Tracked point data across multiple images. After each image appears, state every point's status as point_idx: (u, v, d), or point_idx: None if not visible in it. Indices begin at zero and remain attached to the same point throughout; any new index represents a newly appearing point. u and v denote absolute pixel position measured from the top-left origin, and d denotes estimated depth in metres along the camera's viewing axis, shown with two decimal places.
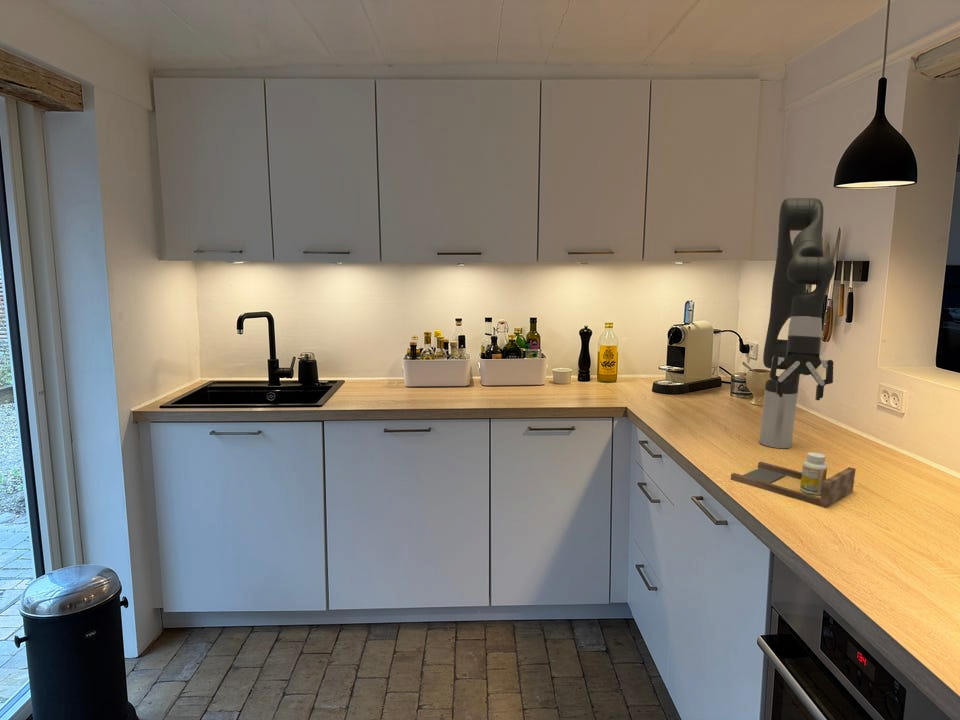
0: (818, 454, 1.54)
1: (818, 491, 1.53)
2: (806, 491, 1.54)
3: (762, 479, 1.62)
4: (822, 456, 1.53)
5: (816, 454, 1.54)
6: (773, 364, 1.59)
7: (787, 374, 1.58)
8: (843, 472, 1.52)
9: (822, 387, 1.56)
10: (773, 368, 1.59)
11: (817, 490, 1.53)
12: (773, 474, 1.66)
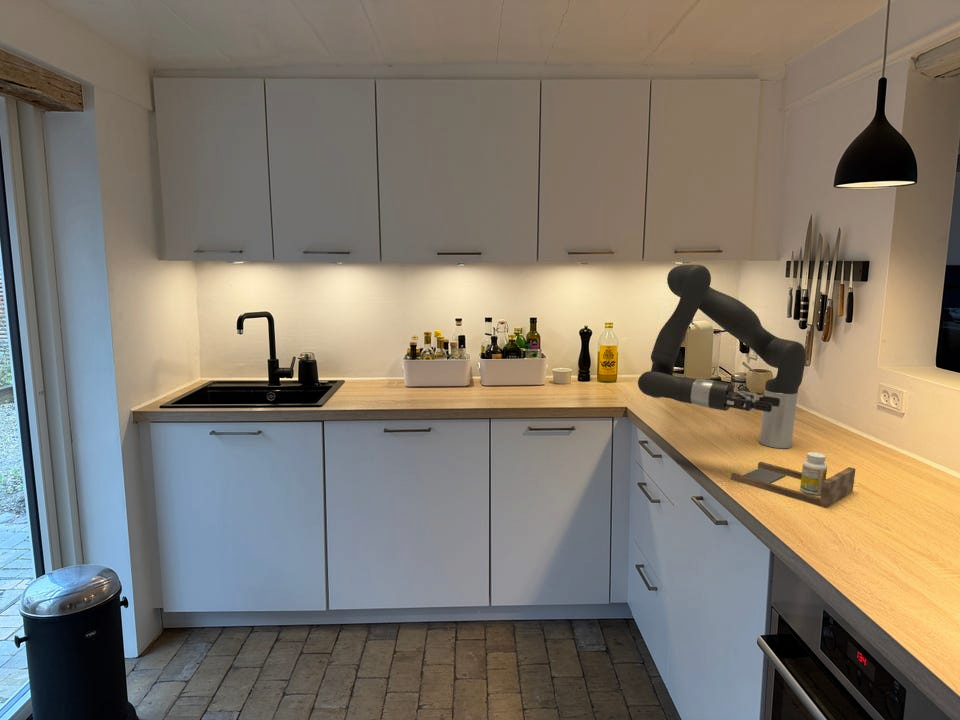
0: (818, 454, 1.54)
1: (818, 491, 1.53)
2: (806, 491, 1.54)
3: (762, 479, 1.62)
4: (822, 456, 1.53)
5: (816, 454, 1.54)
6: None
7: None
8: (843, 472, 1.52)
9: None
10: None
11: (817, 490, 1.53)
12: (773, 474, 1.66)
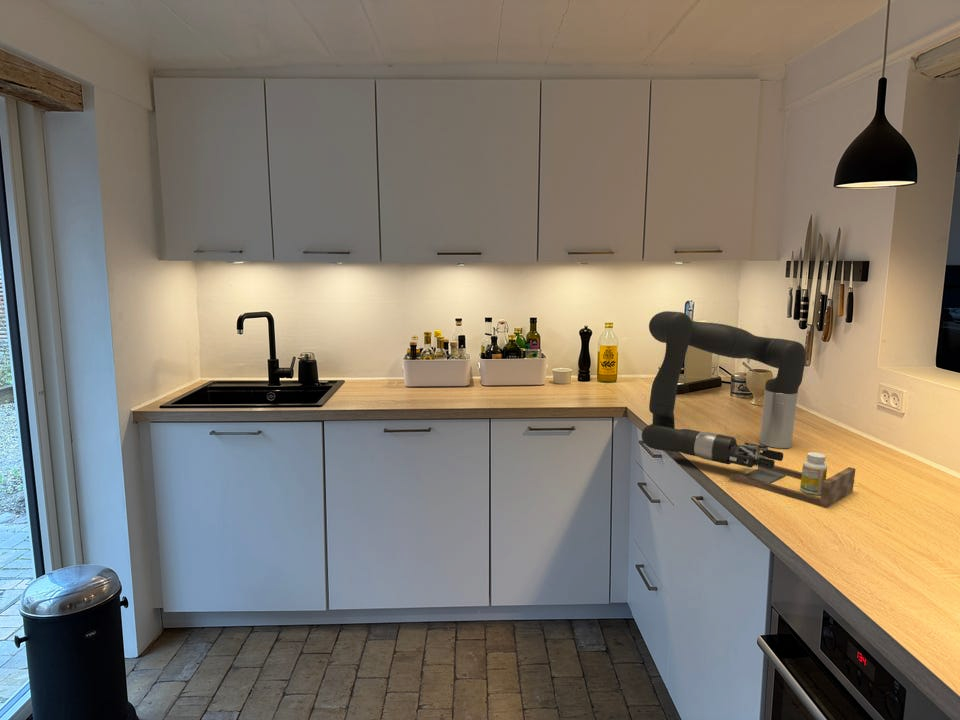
0: (818, 454, 1.54)
1: (818, 491, 1.53)
2: (806, 491, 1.54)
3: (762, 479, 1.62)
4: (822, 456, 1.53)
5: (816, 454, 1.54)
6: None
7: None
8: (843, 472, 1.52)
9: None
10: None
11: (817, 490, 1.53)
12: (773, 474, 1.66)
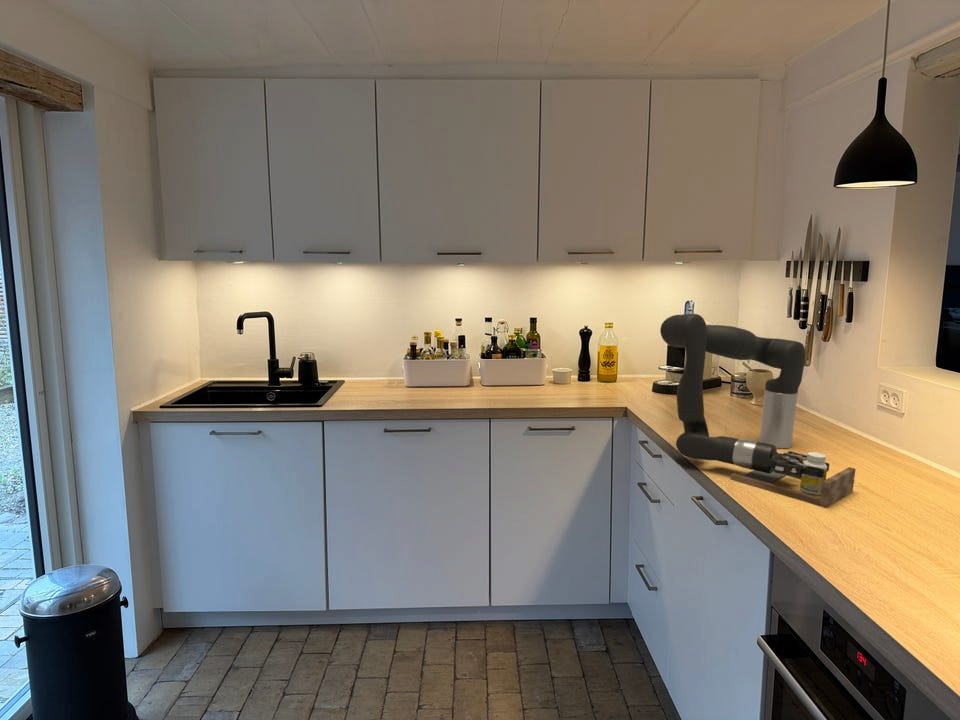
0: (818, 454, 1.54)
1: (818, 491, 1.53)
2: (806, 491, 1.54)
3: (762, 479, 1.62)
4: (822, 456, 1.53)
5: (816, 454, 1.54)
6: None
7: None
8: (843, 472, 1.52)
9: None
10: None
11: (817, 490, 1.53)
12: (773, 474, 1.66)
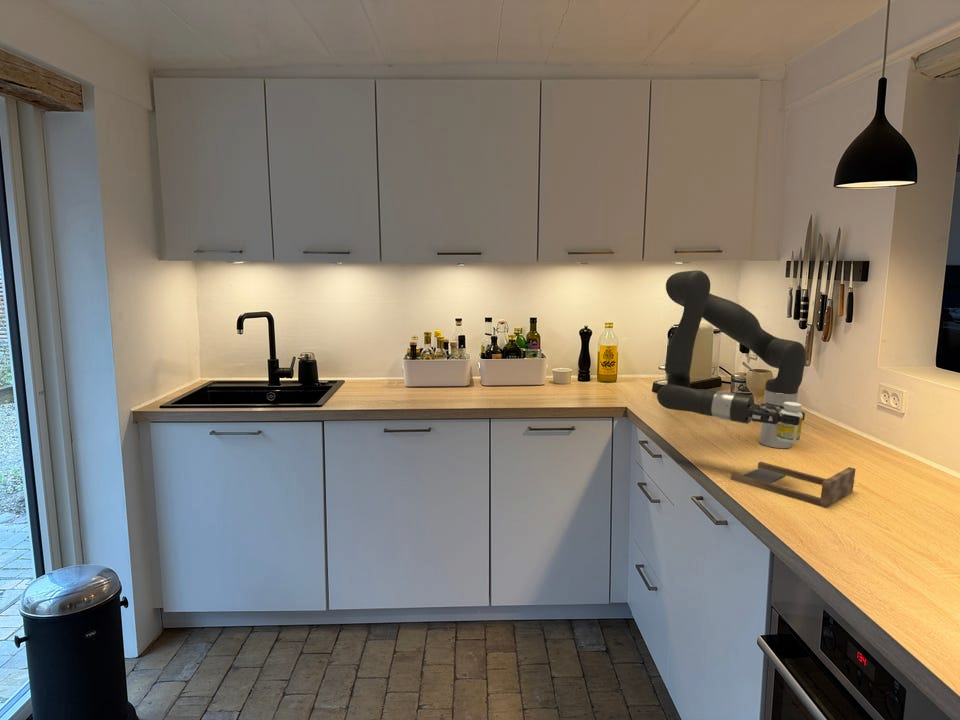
0: (794, 403, 1.58)
1: (794, 439, 1.56)
2: (782, 439, 1.57)
3: (762, 479, 1.62)
4: (798, 405, 1.56)
5: (792, 403, 1.58)
6: None
7: None
8: (843, 472, 1.52)
9: None
10: None
11: (793, 437, 1.56)
12: (773, 474, 1.66)
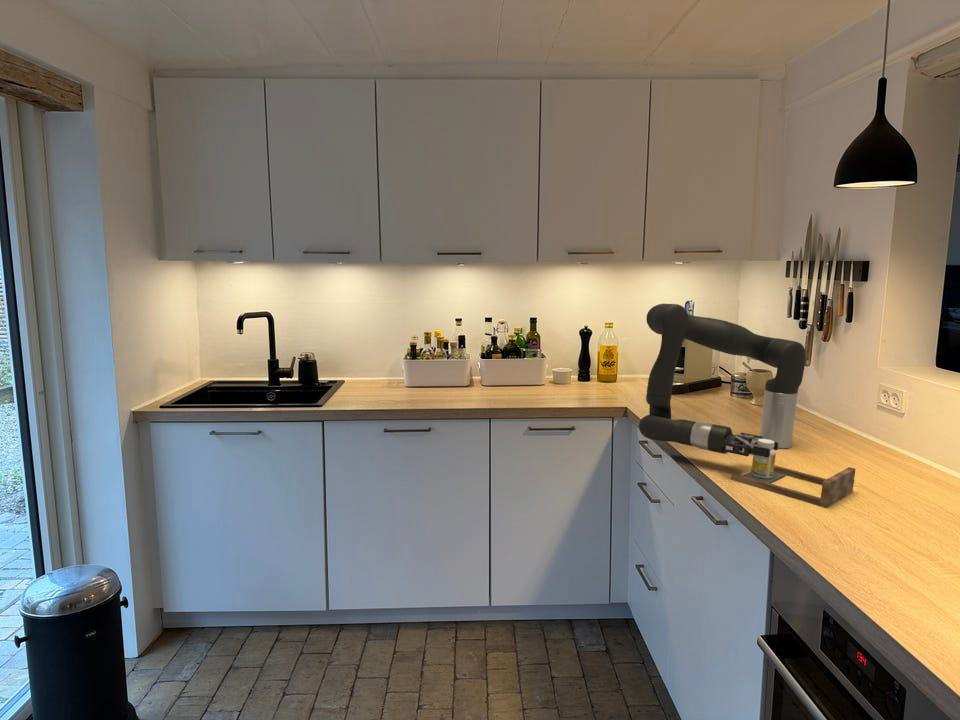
0: (768, 440, 1.63)
1: (767, 475, 1.62)
2: (756, 475, 1.63)
3: (762, 479, 1.62)
4: (771, 442, 1.62)
5: (766, 440, 1.63)
6: None
7: None
8: (843, 472, 1.52)
9: None
10: None
11: (766, 474, 1.62)
12: (773, 474, 1.66)
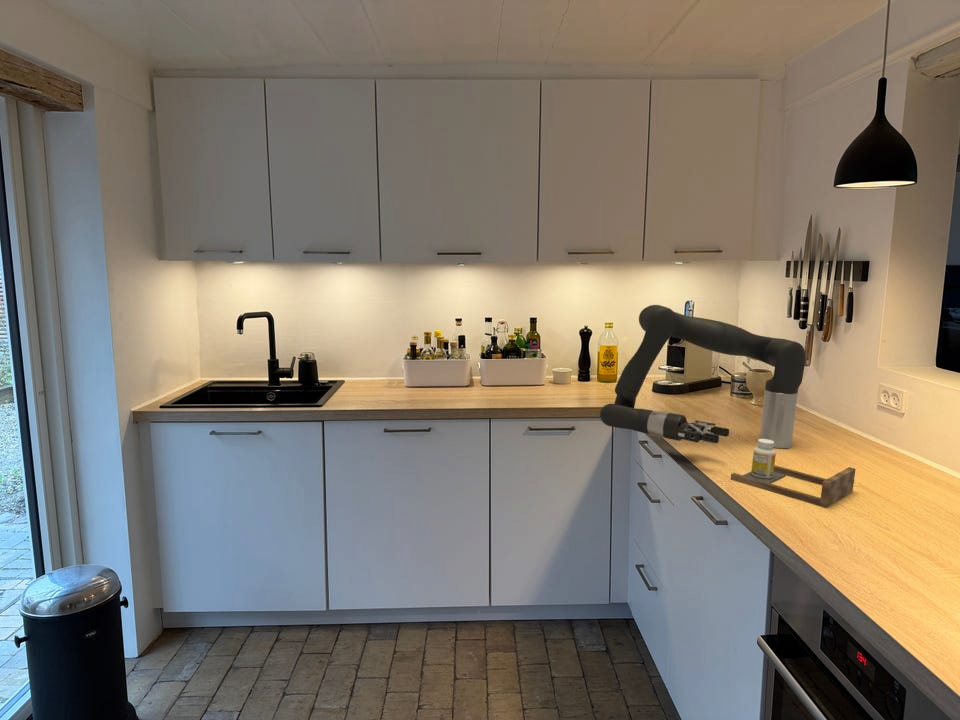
0: (767, 440, 1.63)
1: (767, 475, 1.62)
2: (756, 475, 1.63)
3: (762, 479, 1.62)
4: (771, 442, 1.62)
5: (765, 440, 1.63)
6: None
7: None
8: (843, 472, 1.52)
9: None
10: None
11: (766, 474, 1.62)
12: (773, 474, 1.66)
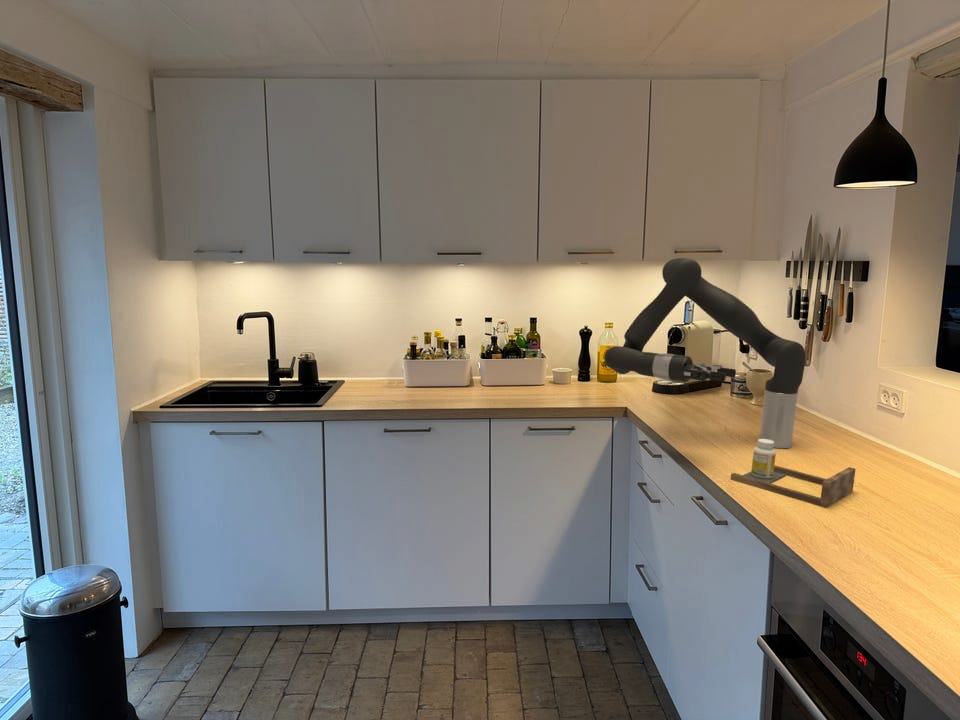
0: (767, 440, 1.63)
1: (767, 475, 1.62)
2: (756, 475, 1.63)
3: (762, 479, 1.62)
4: (771, 442, 1.62)
5: (765, 440, 1.63)
6: None
7: None
8: (843, 472, 1.52)
9: None
10: None
11: (766, 474, 1.62)
12: (773, 474, 1.66)
